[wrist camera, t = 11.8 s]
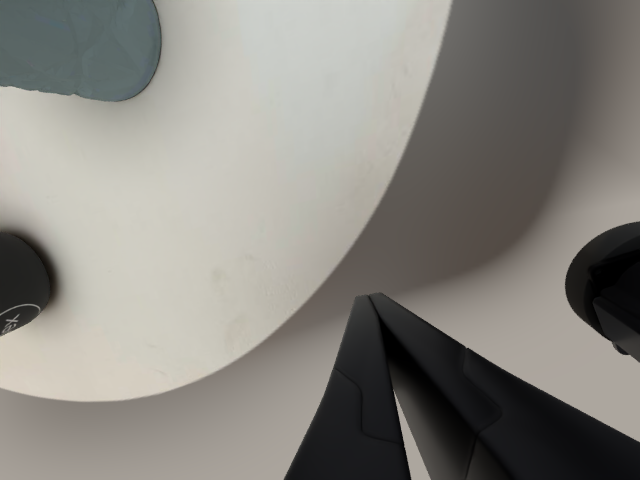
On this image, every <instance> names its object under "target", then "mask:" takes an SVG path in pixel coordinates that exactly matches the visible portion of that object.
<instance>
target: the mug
mask: <svg viewBox="0 0 640 480" xmlns="http://www.w3.org/2000/svg"><path fill="white" fill-rule="evenodd" d="M49 296H50V283H49V278H48V275H47V272H46V270H45V267H44V265H43V263H42V262H41V260H40V259H39V257H38V256H37V254H36V253H35V252H34V251H33V250H32V249H31V248H30V247H29V246H28V245H27V244H26V243H25V242H23V241H22V240H21V239H19V238H17V237H15V236H13V235H11V234H8V233H5V232H0V336H2V335H5V334H7V333H9V332H11V331H13V330H15V329H17V328H20V327H22V326H24V325H26V324H28V323H29V322H31V321H32V320H33V319H34V318H36V317H37V316H38V315H39V314H40V313H41V311H42V310H43V309H44V308H45V306H46V305H47V303H48V300H49Z"/></svg>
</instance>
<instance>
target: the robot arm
mask: <svg viewBox="0 0 640 480" xmlns="http://www.w3.org/2000/svg"><path fill="white" fill-rule="evenodd" d="M599 269H601V272H600V273H599V274H596V275H595V273H596V271H597V270H599ZM586 272H587V276H588V279H589V281H590V284H591V287H592V289H593V292H594V295H595V298H594V300H593V305H594V308H595V310H596V313H597V316H598V319H599V321H600V324H601V327H602V329H603V332H604V334H605V335H606V336H607V337H608V338H610V339H611V341H612V344H613V347H614V348H615V349H616V350H617V351H618V352H619V353H621V354H623V355H631V356H632V357H633V358H635V359H636V360H637V361H638V362H640V249H637V250H634V251H631V252H628V253H625V254H622V255H618V256H615V257H612V258H609V259H606V260H603V261H600V262H597V263H594V264H592V265H590V266H589V267H588V268H587V271H586ZM393 389H394V391H395V394H396V396H397V399H398V401H399V404H400V406H401V408H402V411H403V413H404V415H405V418H406V420H407V423H408V425H409V428H410V430H411V432H412V435H413V437H414V439H415V442H416V445H417V447H418V449H419V452H420V454H421V457H422V459H423V461H424V464H425V466H426V468H427V471H428V474H429V476H430V478H431V480H640V442H638V441H636V440H634V439H632V438H630V437H629V436H627V435H625V434H623V433H621V432H619V431H617V430H615V429H614V428H612V427H610V426H608V425H606V424H604V423H602V422H601V421H598V420H597V419H595V418H593V417H591V416H589V415H587V414H586V413H584V412H582V411H580V410H578V409H576V408H574V407H572V406H570V405H569V404H566V403H565V402H563V401H561V400H559V399H557V398H555V397H553V396H552V395H550V394H548V393H546V392H544V391H542V390H540V389H538V388H537V387H535V386H533V385H531V384H529V383H527V382H525V381H523V380H522V379H520V378H518V377H516V376H514V375H513V374H511V373H509V372H507V371H505V370H504V369H501V368H500V367H498V366H497V365H495V364H493V363H492V362H490V361H488V360H487V359H485V358H484V357H482V356H480V355H479V354H477V353H475V352H474V351H472V350H471V349H469V348H466V347H465V346H464V345H462V344H460V343H459V342H458V341H456V340H454V339H453V338H451V337H450V336H448V335H447V334H445V333H443V332H442V331H440V330H439V329H437V328H436V327H434V326H432V325H431V324H429V323H428V322H426V321H424V320H423V319H422V318H420V317H418V316H417V315H415V314H414V313H412V312H411V311H409V310H408V309H406V308H404V307H403V306H401V305H400V304H398V303H397V302H395V301H393V300H392V299H390V298H389V297H387V296H386V295H384V294H382V293H374V294H370V295H369V296H368V295H362V296H357V297H356V298H355V300H354V303H353V307H352V310H351V313H350V316H349V319H348V322H347V326H346V329H345V332H344V335H343V339H342V342H341V345H340V348H339V352H338V355H337V358H336V361H335V364H334V368H333V370H332V373H331V376H330V379H329V382H328V385H327V387H326V391H325V393H324V396H323V398H322V400H321V403H320V405H319V407H318V409H317V412H316V414H315V416H314V418H313V420H312V422H311V424H310V427H309V429H308V430H307V433H306V435H305V437H304V439H303V441H302V443H301V445H300V447H299V449H298V452H297V453H296V455H295V457H294V459H293V461H292V463H291V466H290V468H289V470H288V472H287V474H286V476H285V478H284V480H411V476H410V470H409V466H408V461H407V455H406V450H405V447H404V441H403V436H402V431H401V426H400V421H399V416H398V411H397V406H396V401H395V396H394V391H393Z"/></svg>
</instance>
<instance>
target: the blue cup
mask: <svg viewBox="0 0 640 480" xmlns="http://www.w3.org/2000/svg"><path fill="white" fill-rule="evenodd" d="M160 47H161V33H160V25H159V20H158V15H157V12H156V9H155V6H154V4H153V1H152V0H0V86H3V87H7V86H13V87H17V88H21V89H24V90H30V91H32V90H38V91H39V92H46V93H56V94H60V95H72V94H76V95H78V96H80V97H83V98H87V99H94V100H100V101H114V102H115V101H121V100H126V99H128V98H131V97H133V96H135V95H137V94H138V93H139V92H141V91H142V90H143V89H144V88H145V87H146V85H147V84H148V83H149V82H150V80H151V78H152V76H153V74H154V72H155V69H156V67H157V64H158V60H159V55H160Z"/></svg>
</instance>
